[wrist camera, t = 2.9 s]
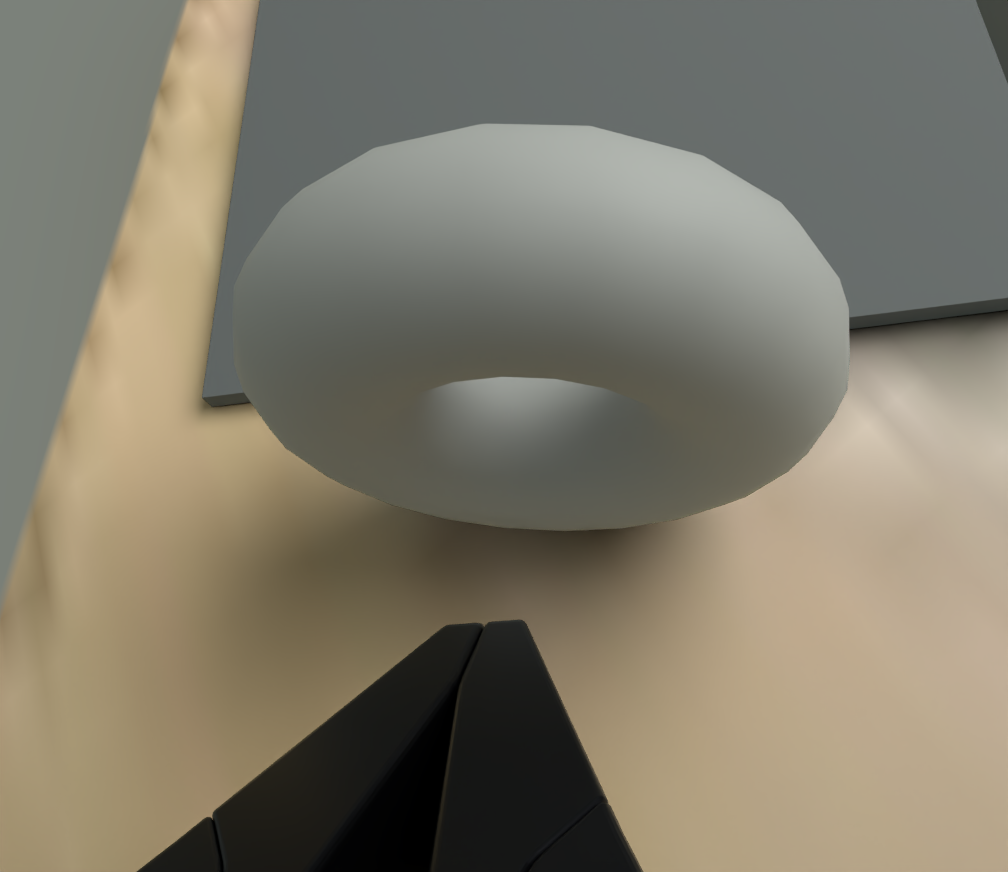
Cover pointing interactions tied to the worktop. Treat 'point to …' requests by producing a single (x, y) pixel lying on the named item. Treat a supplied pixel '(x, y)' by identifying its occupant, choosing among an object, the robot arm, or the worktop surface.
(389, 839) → the robot arm
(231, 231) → the mat
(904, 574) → the worktop surface
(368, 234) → the donut
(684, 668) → the worktop surface
